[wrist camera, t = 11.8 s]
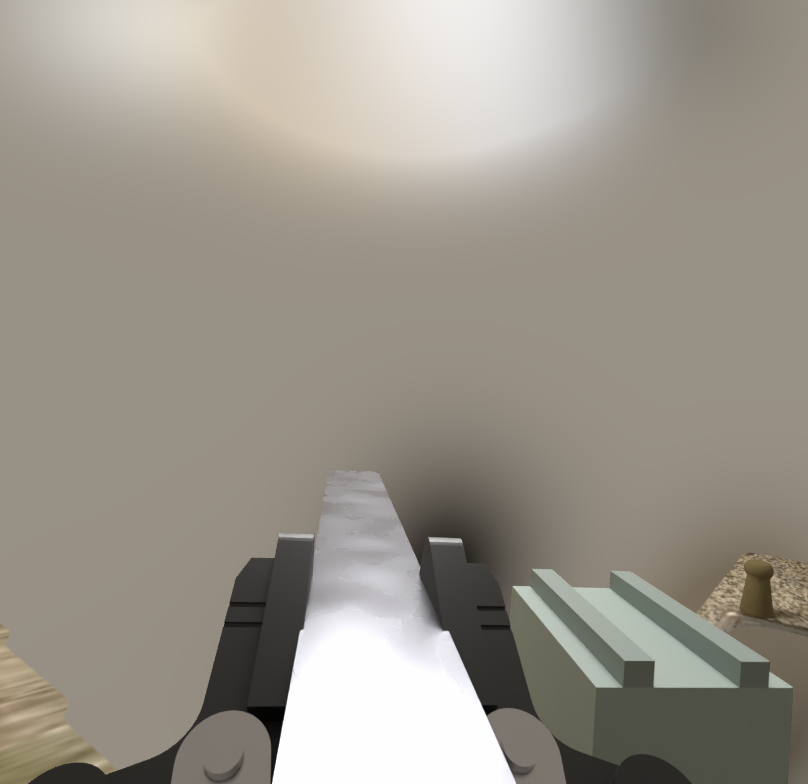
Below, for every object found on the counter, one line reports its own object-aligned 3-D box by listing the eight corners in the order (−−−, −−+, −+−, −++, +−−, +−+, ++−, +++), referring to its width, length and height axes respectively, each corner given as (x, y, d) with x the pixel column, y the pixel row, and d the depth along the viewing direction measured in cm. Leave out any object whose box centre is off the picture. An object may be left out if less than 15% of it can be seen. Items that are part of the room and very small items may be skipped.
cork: (738, 611, 111) (741, 560, 111) (741, 604, 116) (743, 554, 116) (772, 620, 107) (775, 567, 108) (774, 612, 112) (777, 561, 112)
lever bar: (326, 518, 26) (329, 469, 27) (374, 520, 27) (377, 471, 27) (246, 1109, 5) (263, 828, 5) (516, 1083, 5) (531, 818, 5)
